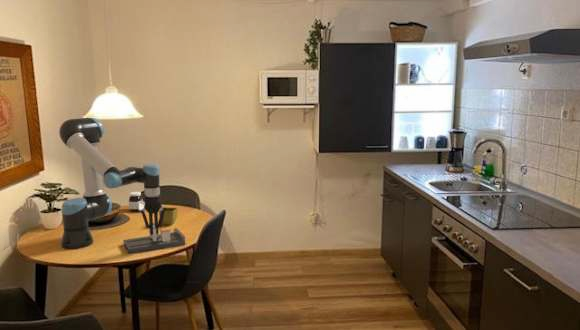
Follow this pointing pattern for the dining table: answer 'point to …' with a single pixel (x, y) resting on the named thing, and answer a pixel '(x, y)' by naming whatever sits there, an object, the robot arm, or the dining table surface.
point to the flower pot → (169, 216)
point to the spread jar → (136, 201)
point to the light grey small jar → (156, 234)
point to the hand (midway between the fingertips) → (154, 240)
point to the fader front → (165, 234)
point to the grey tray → (153, 243)
